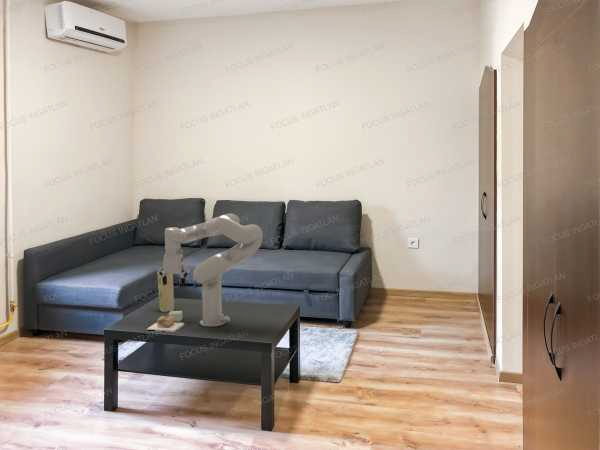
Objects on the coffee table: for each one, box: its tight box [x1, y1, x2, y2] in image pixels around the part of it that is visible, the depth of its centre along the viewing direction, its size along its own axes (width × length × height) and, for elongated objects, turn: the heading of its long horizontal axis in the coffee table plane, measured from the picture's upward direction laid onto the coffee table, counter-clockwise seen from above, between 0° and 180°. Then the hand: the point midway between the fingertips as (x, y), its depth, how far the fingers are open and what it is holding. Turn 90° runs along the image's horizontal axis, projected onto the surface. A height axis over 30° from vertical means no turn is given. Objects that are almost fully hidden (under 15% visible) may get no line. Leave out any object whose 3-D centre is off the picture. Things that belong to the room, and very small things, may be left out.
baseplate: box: [146, 322, 185, 333], centre depth 275 cm, size 14×12×1 cm
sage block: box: [167, 310, 183, 322], centre depth 289 cm, size 6×6×4 cm
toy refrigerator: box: [157, 270, 175, 313], centre depth 307 cm, size 8×7×21 cm
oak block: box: [156, 315, 175, 328], centre depth 275 cm, size 6×6×4 cm
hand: (174, 284), depth 286 cm, fingers open, 9 cm apart
